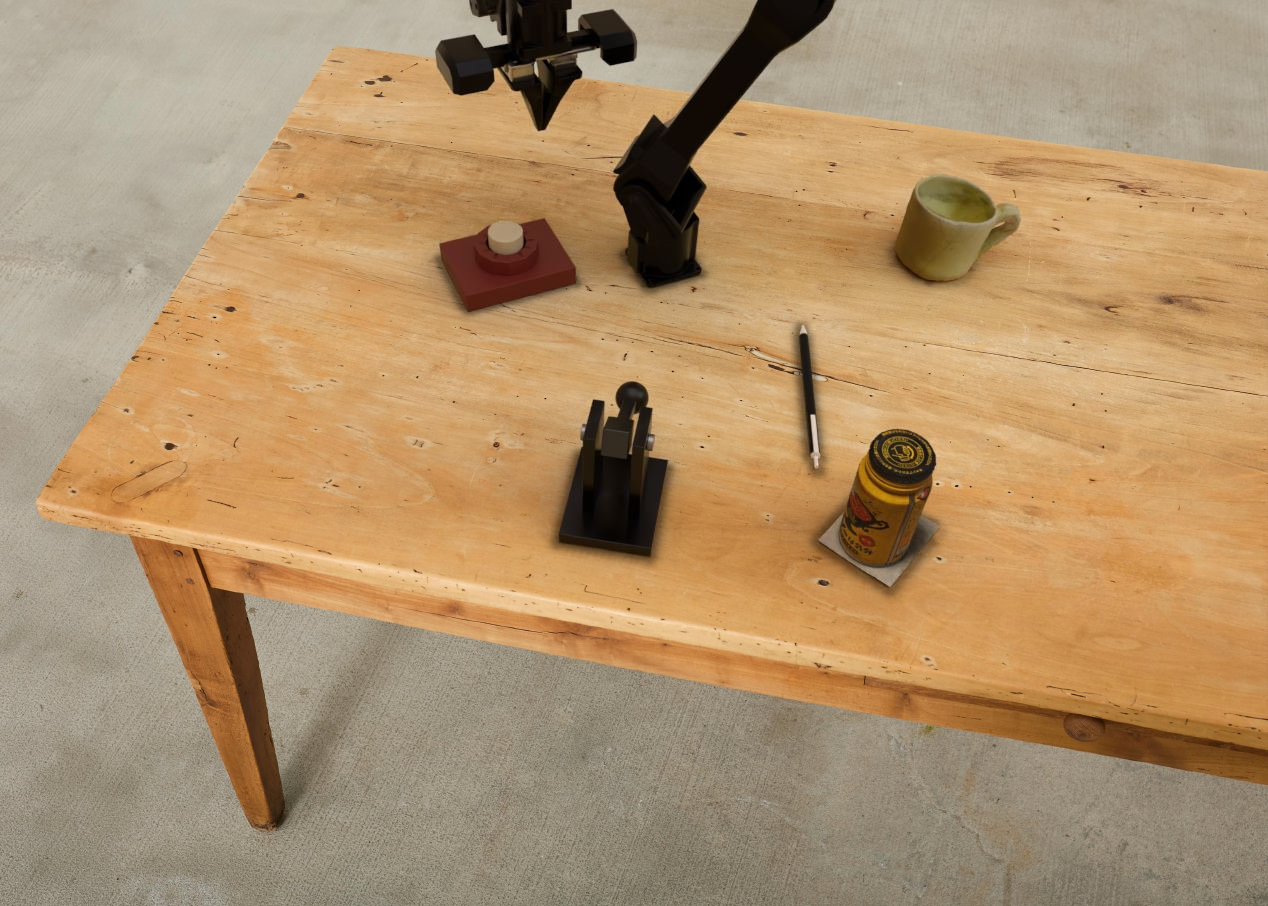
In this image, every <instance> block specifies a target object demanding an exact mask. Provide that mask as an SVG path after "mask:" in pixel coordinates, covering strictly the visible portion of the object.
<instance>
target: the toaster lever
mask: <svg viewBox="0 0 1268 906" xmlns="http://www.w3.org/2000/svg"><path fill="white" fill-rule="evenodd" d="M614 398H615V404H616V406H617V408H618V409H619V411H618V412H617V413H618V414H617V416H611V415H608V416H607V419H606V422H604V428H603V436H602V446H601V455H602V456H609V457H615V458H622V459H627V458H628V455H629V454H630V452H631V450H632V445H633V438H634V428H635V419H633V418H634V416H635V415H639V413H640V408H641V406H643V407H648V404H649V400H650V397H649V392H648V390H647V388H646V386H644V385H643V383H642V384H641V382H638V381H636V380H635V381H633V380H630V381H626V382H624V383H622V384H621V385H620V386H619V387H618V388H617V390H616V392H615V397H614Z"/></svg>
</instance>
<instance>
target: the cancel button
mask: <svg viewBox="0 0 1268 906" xmlns="http://www.w3.org/2000/svg"><path fill="white" fill-rule="evenodd" d="M518 223H519V222H516V221H513V220H499V221H495V222H494V223H492V224H490V225H491V226H490V227H489V229H488V241H489V247H490V249H491V250H492V251H493V252H495V253H497V254H501V255H510V254H514V253H517V252H519V251H520V250H521V249H522V247H523V229H522V227H521V226H520V225H519V224H520V223H519V224H518Z"/></svg>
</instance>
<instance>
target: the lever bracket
mask: <svg viewBox="0 0 1268 906" xmlns="http://www.w3.org/2000/svg"><path fill="white" fill-rule="evenodd" d="M605 403H606V401H605V400H601V399H595V398H594V399H592V401H591V405H590V409H589V412H588V417H587V421H586V423H582V424H581V428H580V435H579V437H580V438H579V439H580V441H582V446H581V447H580V449H579V454H578V459H577V462H576V465H575V469H574V474H573V477H572V481H571V485H570V489H569V493H568V496H567V501H566V504H565V508H564V512H563V516H562V520H561V523H560V527H559V531H558V543H562V544H569V545H575V546H581V547H587V548H594V549H600V550H607V551H612V552H618V553H619V552H620V553H626V554H632V555H638V556H645V557H651V556H652V552H653V548H654V547H653V546H654V541H655V536H656V531H657V525H658V521H659V514H660V511H661V510H660V509H661V504H662V503H661V502H662V500H663V499H662V498H663V494H664V487H665V482H666V478H667V472H668V467H669V465H668V464H669V460H668V459H666V458H658V457H652V456H650V452H653V451H654V446H655V439H656V434H654V433H652V425H653V424H652V423H653V412H654V411H653V410H654V408H653V407H651V406H649V407H648V406H646V407H643V406H641V408H640V413H638V417H637V423H636V427H635V432H634V434H633V439H632V445H631V453H629V455H628V458H627V459H622V458H615V457H609V456H602V455H601V446H602V436H603V428H604V426H605V405H606V404H605Z"/></svg>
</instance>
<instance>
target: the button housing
mask: <svg viewBox="0 0 1268 906" xmlns="http://www.w3.org/2000/svg"><path fill="white" fill-rule="evenodd" d="M517 223H518V224H519V225H520V226H521V227H522V229H523V247H522V249H521V250H520V251H519V252H517V253H514V254H510V255H501V254H497V253H495V252H493V251H492V250H491V249H490V247H489V241H488V229H489V227H490V226H491V225H492V224H489V225H487V226H485V227H484V228H483V229H481V230H480V231H478V232H477V233H476V234H473V235H472V234H471V235H468V236H463V237H459V238H455V239H452V240H448V241H443V242H440V243H439V244H438V245H439V253H440V260H441V262H442V264H443V266H444V268H445V270H446V271H447V273H448V276H449V277H450V279H451V282H452V284H453V285H454V288H455V289H456V292H457V293H458V296H459V297H460V299H461V301H462V303H463V305H464V307H465V310H466V311H467V312H468V313H469V312H472V311H477V310H480V309H484V308H488V307H492V306H495V305H500V304H503V303H507V302H511V301H514V300H519V299H523V298H526V297H530V296H533V295H534V296H535V295H537V294H541V293H545V292H548V291H551V290H556V289H560V288H564V287H567V286H570V285H575V284H577V278H576V277H577V276H576V275H577V269H576V268H577V267H576V265H575V264H574V262H573V261H572V259H571V258H570V256H569V254H568V253H567V251H566V249H565V248H564V247H563V245H562V243H561V241H560V240H559V238H558V237H557V235H556V234H555V231H554V230H553V229H552V227H551V226H550V224H549V222H548V221H547V219H546V218H545V217H543V218H542V217H541V218H538V219H534V220H530V221H526V222H522V223H519V222H517Z"/></svg>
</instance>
